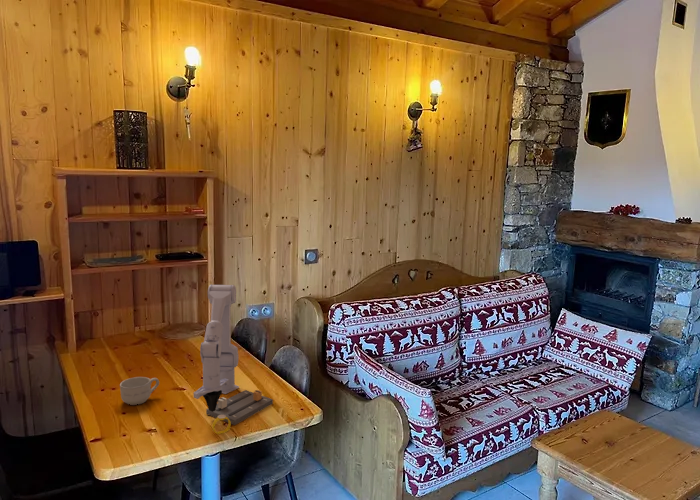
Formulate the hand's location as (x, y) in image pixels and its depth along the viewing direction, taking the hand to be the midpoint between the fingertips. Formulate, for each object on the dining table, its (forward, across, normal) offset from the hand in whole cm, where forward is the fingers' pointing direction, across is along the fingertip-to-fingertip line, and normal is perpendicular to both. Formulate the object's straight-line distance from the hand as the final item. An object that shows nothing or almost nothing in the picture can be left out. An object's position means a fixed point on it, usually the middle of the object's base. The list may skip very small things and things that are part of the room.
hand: (212, 410), depth 184 cm
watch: (+3, -5, -10) cm, 12 cm away
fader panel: (+3, +11, -3) cm, 12 cm away
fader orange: (+1, +17, -6) cm, 18 cm away
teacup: (+3, -6, +32) cm, 33 cm away
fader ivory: (+1, +5, 0) cm, 5 cm away
